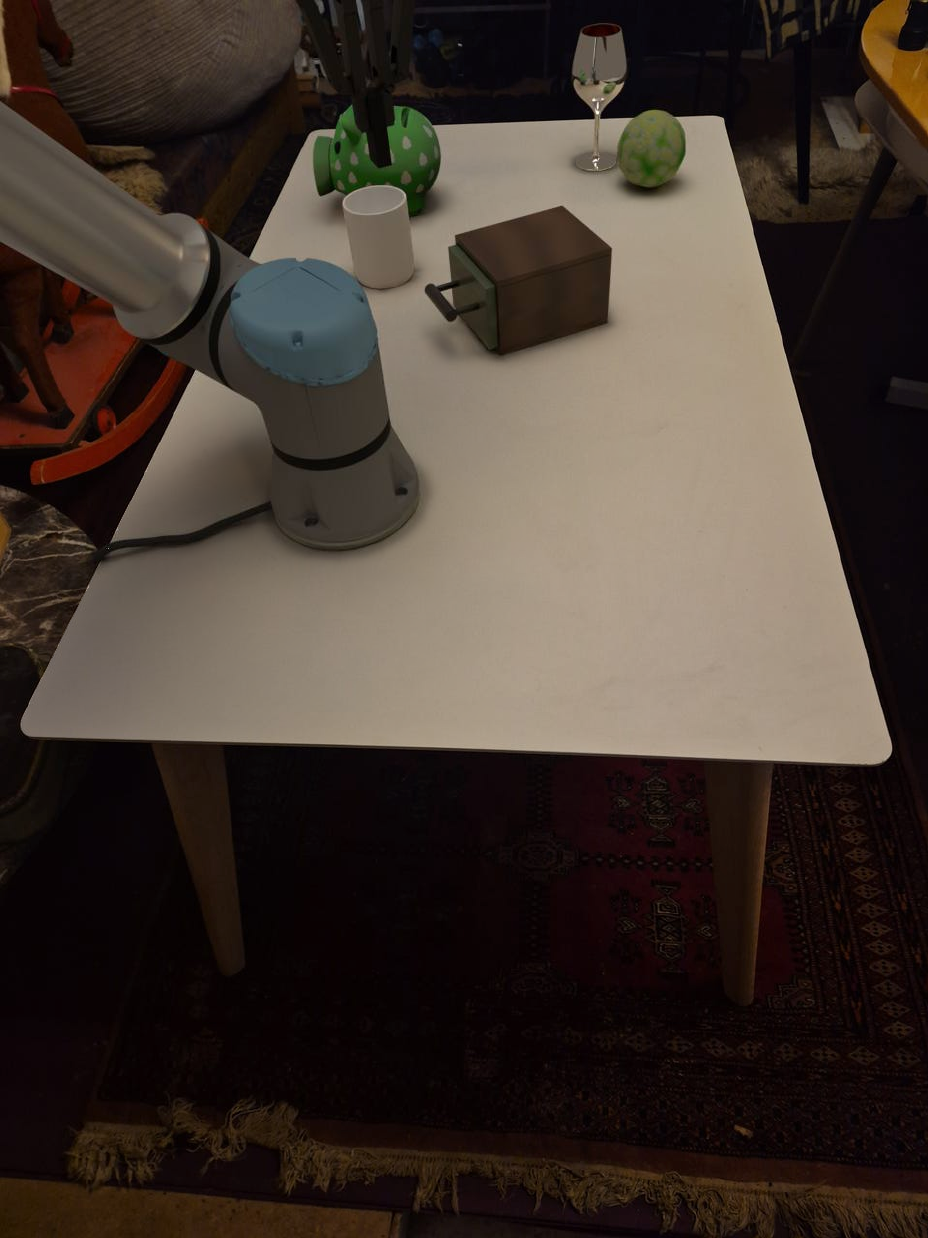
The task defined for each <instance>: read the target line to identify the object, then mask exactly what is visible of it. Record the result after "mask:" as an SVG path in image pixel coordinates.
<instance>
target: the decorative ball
mask: <svg viewBox="0 0 928 1238" xmlns="http://www.w3.org/2000/svg"><path fill="white" fill-rule="evenodd" d="M686 142H687V141H686V133H685V129H684V128H683V126H682V123H681V122H680V120H678V119H677V117H675V116H674V115H672V114H670V113H669V112H668V111H664V110H659V109H651V110H650V109H649V110H647V111H643V112H642V113H640V114H638V115H636V116H635V117H633V118H631V120H629V122H628V123H627V124H626V125H625V127H624V129H623V131H622V133H621V135H620V137H619V140H618V142H617V147H616V148H617V149H616V151H617V152H616V161H617V163H618V167H619V170H620V171H621V173H622V174H623V176H624V177H625V178H626V179H627V181H629V182H630V183H631V184H633V185H636V186H640V187H643V188H648V189H649V188H656V187H659V186H661V185H663V184H665V183H668V181H670V180H671V179H672V178H673V177H674V176H675V175H676V174H677V173H678V171H679V169H680V167H681V166H682V163H683V161H684V159H685V156H686V154H687V153H686V152H687V143H686Z"/></svg>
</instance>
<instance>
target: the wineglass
mask: <svg viewBox="0 0 928 1238" xmlns="http://www.w3.org/2000/svg"><path fill="white" fill-rule="evenodd" d="M622 30H623V29H622V28H621V27H620V26H619V25H617V24H613V23H595V24H590V25H587V26H585V27H583V28H581V29H580V33H579V36H578V40H577V45H576V49H575V52H574V58H573V61H572V65H571V66H572V67H571V71H570V72H571V74H570V75H571V76H570V78H571V79H570V80H571V84H572V87H573V89H574V91H575V93H576V94H577V95H578V97H579V98H580V99H581V100H582V101H583V102H584V103H585V104H587V105H588V106H589V107H590V108H591V110H592V112H593V113H594V131H593V150H592V152H588V153H585V154H582V155H580V156H578V157H577V158H576V160H575V166H576V167H577V168H578V169H580V170H583V171H586V172H601V171H606V170H609V169H612V168H613V167H614V166H615V165H616V164H617V157H615V156H614V155H613V154H610V153H607V152H600V126H601V115H602V112H603V111H604V109H605V108H606V107H607V105H608V104H609V103H610V102H612V101H613V100H614V99H615V98H616V97H617V96H618V95H619V94H620V92H621V91H622V89H623V88H624V86H625V85H626V81H627V79H628V60H627V54H626V47H625V42H624V36H623V31H622Z"/></svg>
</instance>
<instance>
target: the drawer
mask: <svg viewBox="0 0 928 1238" xmlns="http://www.w3.org/2000/svg"><path fill="white" fill-rule="evenodd" d="M447 251H448V260H449V271H450V281H449V282H446V283H442V284H438V285H435V284H434V283H427V284H426V286H424V294H425V295H426V296H427V297H428V299H429V300H430V301H431V303H432V304H434V306H435V308H436V309H437V310H438V311H439V313H440V314H441V315H442V316H443V318H444V319H445V320H446V321H447V322H449V323H452V322H455V321H456V320H457V318H458V316H461V317H462V318H463V319H464V321H465V322H466V323H467V324H468V325H469V327H470V328H471V329H472V331H473V332H474V333H475V334H476V335H477V336H478V337H479V339H480V340H481V342H483V344H484V345H485V346H486V348H488V350H493V349H495V348H496V347H498V330H497V310H496V290H495V286H494V284H493V283H492V282H491V281H490V280H489V277H488V276H487V275H486V274H485V273H484V272H483V271H482V270H481V269H480V268H479V266H478V265H477V264H476V263H475V262H474V261H473V260H472V259H471V258H469V257H468V256H467V255H466V254H465V253H464V251H463V250H462V249H461V248H460V247H459V246H458V245H457V244H456V243H455V244H453V245H449V246H448V247H447ZM448 290H451V292H452V293H451V294H452V304H451V303H450V302H449V300H448V299H447V298H446V296H444V294H443V293H442V292H445V291H448Z"/></svg>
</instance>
